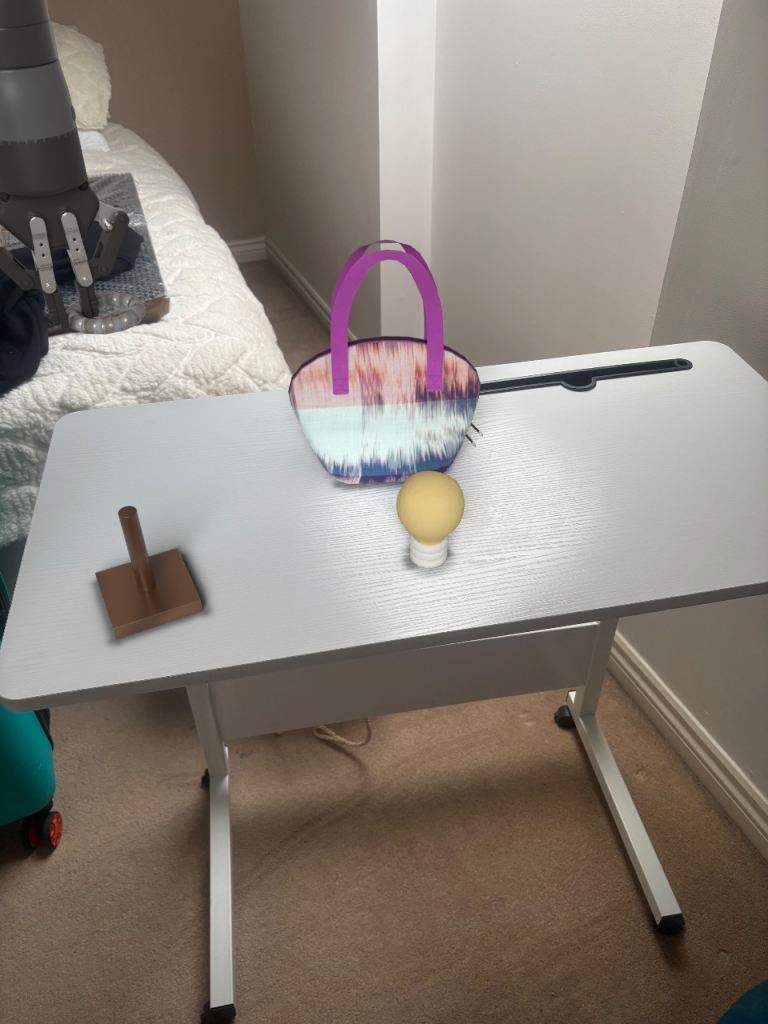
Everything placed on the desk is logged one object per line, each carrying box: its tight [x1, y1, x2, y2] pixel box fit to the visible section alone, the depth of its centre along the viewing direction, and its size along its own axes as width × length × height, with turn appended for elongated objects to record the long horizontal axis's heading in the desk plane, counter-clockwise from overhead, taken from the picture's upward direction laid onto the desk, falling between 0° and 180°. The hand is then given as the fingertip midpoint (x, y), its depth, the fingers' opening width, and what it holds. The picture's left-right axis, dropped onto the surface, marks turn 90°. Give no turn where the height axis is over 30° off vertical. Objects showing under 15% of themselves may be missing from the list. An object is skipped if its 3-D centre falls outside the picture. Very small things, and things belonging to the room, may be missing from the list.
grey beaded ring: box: [65, 291, 147, 336], centre depth 78 cm, size 7×7×1 cm
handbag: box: [287, 239, 484, 485], centre depth 87 cm, size 21×10×25 cm, turn 94°
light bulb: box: [395, 471, 466, 569], centre depth 79 cm, size 6×6×10 cm
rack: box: [94, 505, 204, 640], centre depth 75 cm, size 8×8×10 cm
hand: (76, 322), depth 77 cm, fingers closed on grey beaded ring, 1 cm apart
